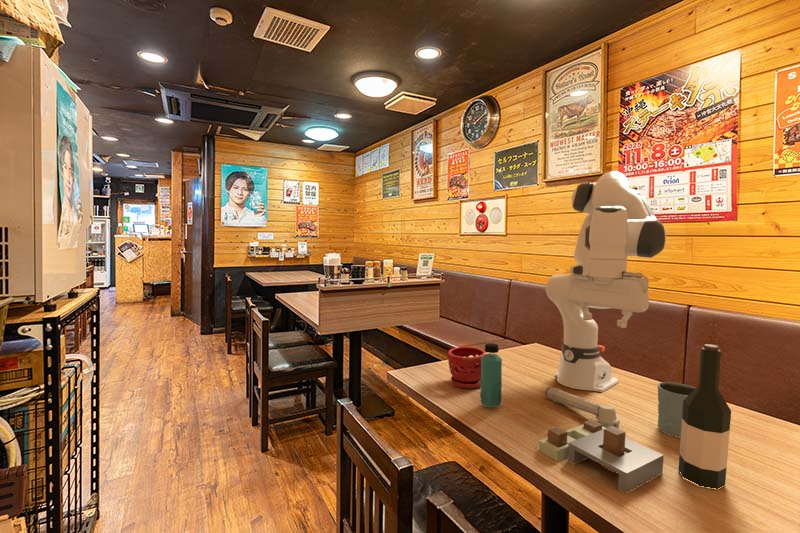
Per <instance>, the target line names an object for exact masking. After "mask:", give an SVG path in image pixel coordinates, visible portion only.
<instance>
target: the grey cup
mask: <svg viewBox="0 0 800 533" xmlns="http://www.w3.org/2000/svg"><path fill="white" fill-rule="evenodd" d="M695 388H696V387H694V386H692V385H688V384H683V383H680V382H673V381H664V382H659V383H658V384H657V400H658V404H657V414H658V416H657V417H658V418H657V428H658V427H659V428H658V430H660V431H661V432H662V431H663V432H662V433H664V432H665V433H664V434H666V433H667V434H666V435H668V434H670V435H669V436H671V435H673V436H672V437H674V436H677V437H676V438H678V437H681V427H682V413H683V400H684V399H685V398H686V397H687V396H688V395H689V394H690V393H691V392H692V391H693V390H694V389H695Z"/></svg>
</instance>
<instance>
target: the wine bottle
mask: <svg viewBox="0 0 800 533" xmlns="http://www.w3.org/2000/svg"><path fill="white" fill-rule="evenodd" d="M721 356H722V350H720V348H719V346H718V345H717V344H711V343H706V344H704V345H703V347H700V361H699V372H698V373H699V374H698V384H697V386H696V387H694V388H695V389H694V390H693V391H692V392H691V393H690V394H689V395H688V396H687V397H686V398H685V399H684V400H683V413H682V427H681V438H680V440H679V441H680V444H679V458H678V469H679V471H680V472H681V474H682V476H683V477H684V478H686V479H688V480H690V481H692V482H694V483H696V484H698V485H699V486H704V487H710V488H716V489H718V488H720V487H722V486H724V485H725V486H726V481H727V480H726V478H727V467H728V466H727V465H728V457H729V443H730V432H731V430H730V429H731V421H732V410H731V408H730V407H729V405H728V403H727V402H726V400H725V398H724V396H723V395H722V393H721V392H720V389H719V383H720V382H719V380H720V368H721V359H722V358H721ZM679 471H678V472H679ZM681 474H680V475H681ZM682 476H681V477H682ZM725 486H724V487H725ZM722 488H723V487H722ZM720 489H721V488H720ZM718 490H719V489H718Z"/></svg>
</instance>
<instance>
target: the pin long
mask: <svg viewBox="0 0 800 533" xmlns="http://www.w3.org/2000/svg"><path fill="white" fill-rule="evenodd" d="M625 438H626V430H623V429H620V428H619V429H618V428H616V427H614V426H610V427H608V428H605V429H604V436H603V449H604V450H606V451H608V452H610V453H612V454H614V455H616V456H618V457H621V456H623V455H625V453H626V452H625ZM602 466H603V467H602ZM601 467H602V468H604V467H605V466H604V465H602V464H601ZM606 468H607V467H605V468H604V469H606ZM608 469H609V468H607V469H606V470H608ZM610 470H611V469H609V470H608V471H610ZM612 471H613V470H611V471H610V472H612ZM613 472H614V473H613ZM613 472H612V473H613V474H617V473H616V472H615V471H613Z"/></svg>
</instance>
